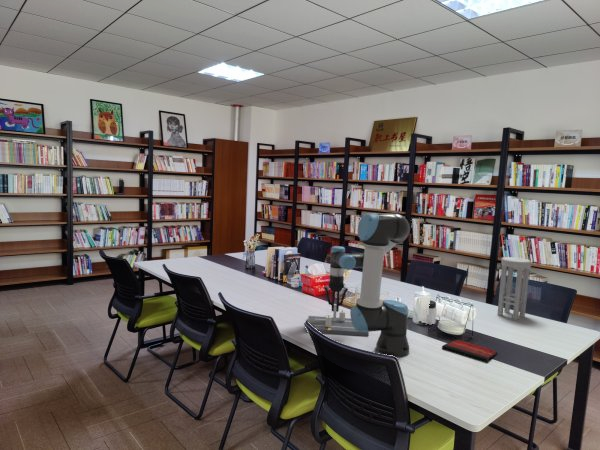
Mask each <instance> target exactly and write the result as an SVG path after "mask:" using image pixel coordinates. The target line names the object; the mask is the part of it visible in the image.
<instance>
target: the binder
mask: <svg viewBox="0 0 600 450" xmlns="http://www.w3.org/2000/svg"><path fill="white" fill-rule="evenodd" d="M441 349H442V350H444V351H448V352H451V353H453V354H457V355H460V356H463V357H467V358H469V359H473V360H475V361H476V360H477V361H480V362H483V363H485V364H487V363H488V361H491V360H493V359H494V358H495V357H496V356H497V355H498V351H496V350H494V349H490V348H488V347H485V346H481V345H478V344H476V343H471V342H468V341H465V340H460V339H454V340H451V341H449V342H447V343H445V344H443V345H442V346H441Z"/></svg>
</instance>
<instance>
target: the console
mask: <svg viewBox="0 0 600 450" xmlns="http://www.w3.org/2000/svg"><path fill="white" fill-rule="evenodd" d="M307 322H309V323H310V324H311V325H312V326H313V327H314V328H316V329H317V330H318V331H320V332H322V333H321V334H329V335H330V334H331V335H347V336H359V337H360V336H361V337H369V335H370V334H369V333H370V332H358V331H357V330H356V329H355V328H354V326H353V324H352V321H351V317H350V318H347V317H345V321H339V317H336V318H333V316H332V321H331V327H325V325H326V316H319V315H317V316H316V315H315V316H314V315H308V317H307V321H306V323H307ZM305 333H308V332H307V330H306V329H305Z"/></svg>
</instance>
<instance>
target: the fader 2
mask: <svg viewBox="0 0 600 450" xmlns="http://www.w3.org/2000/svg"><path fill="white" fill-rule="evenodd" d="M338 312H339V317H338V318H339V321H345V318H346V310H345V309H344V310H342V309H339V311H338Z"/></svg>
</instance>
